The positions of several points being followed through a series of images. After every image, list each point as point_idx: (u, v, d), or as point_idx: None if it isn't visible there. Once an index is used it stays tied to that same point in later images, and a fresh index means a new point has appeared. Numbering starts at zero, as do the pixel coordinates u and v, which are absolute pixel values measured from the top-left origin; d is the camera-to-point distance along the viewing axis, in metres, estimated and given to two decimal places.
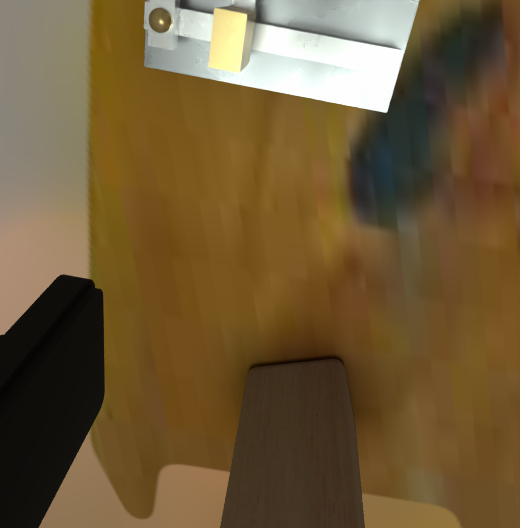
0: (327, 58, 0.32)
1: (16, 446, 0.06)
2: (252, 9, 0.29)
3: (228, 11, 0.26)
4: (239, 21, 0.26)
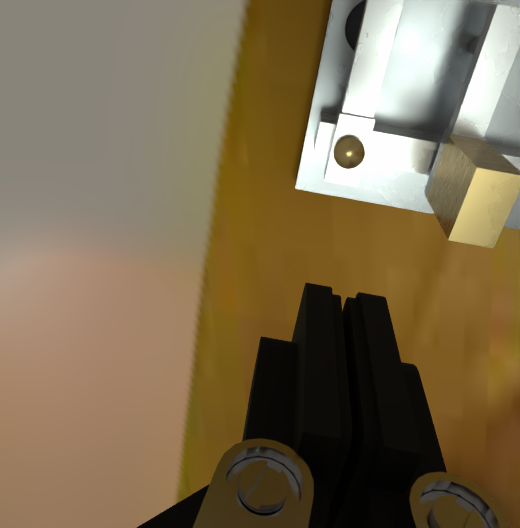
0: None
1: None
2: (482, 139, 0.21)
3: (497, 172, 0.17)
4: (511, 185, 0.18)
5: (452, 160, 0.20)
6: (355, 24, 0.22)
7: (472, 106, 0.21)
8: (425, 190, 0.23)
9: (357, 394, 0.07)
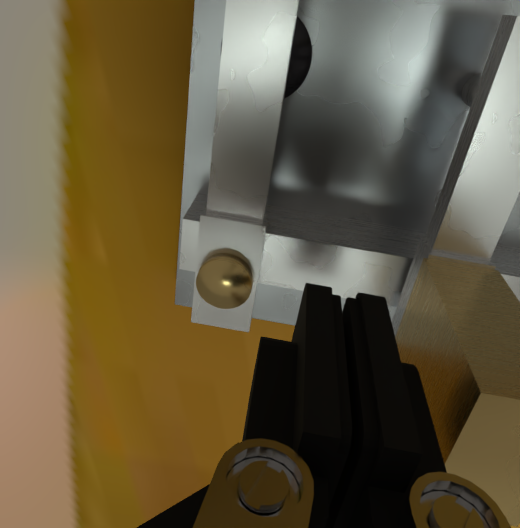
0: None
1: None
2: (487, 265, 0.11)
3: None
4: None
5: (430, 320, 0.10)
6: None
7: (468, 208, 0.11)
8: None
9: (357, 394, 0.07)
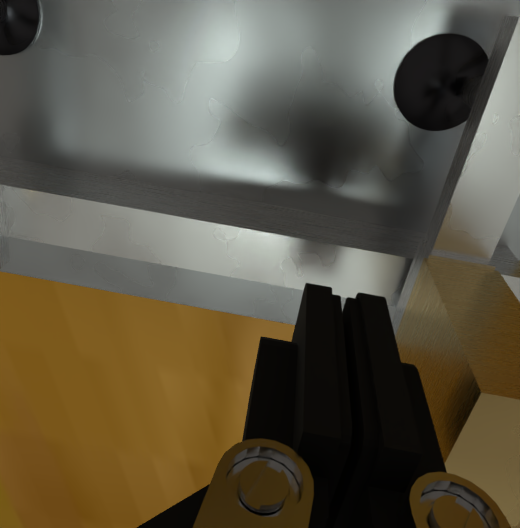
0: (352, 289, 0.14)
1: None
2: (487, 265, 0.11)
3: None
4: None
5: (430, 320, 0.10)
6: None
7: (468, 208, 0.11)
8: None
9: (357, 394, 0.07)
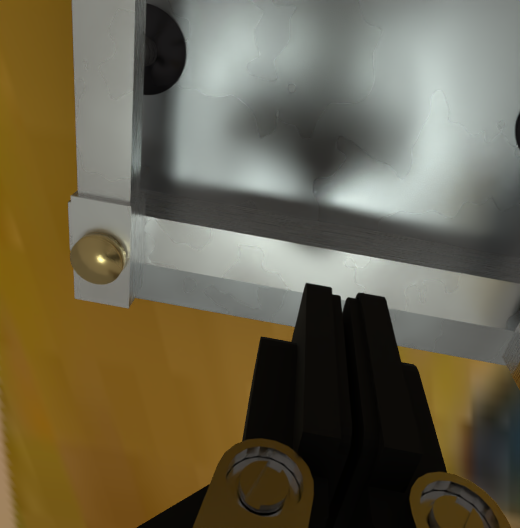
0: (470, 314, 0.14)
1: None
2: None
3: None
4: None
5: None
6: None
7: None
8: (506, 356, 0.14)
9: (357, 394, 0.07)
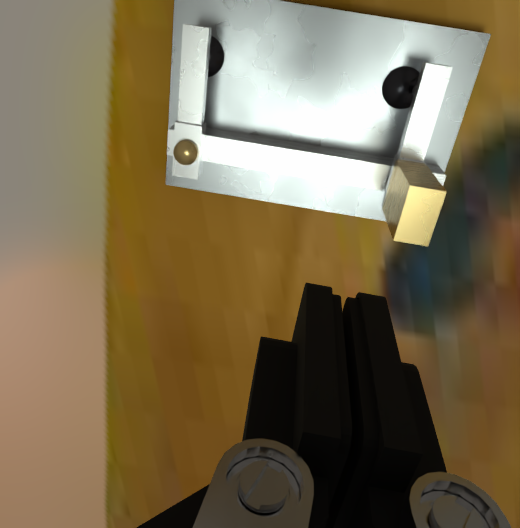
0: (364, 182, 0.29)
1: None
2: (422, 163, 0.27)
3: (425, 188, 0.23)
4: (436, 198, 0.23)
5: (397, 179, 0.26)
6: None
7: (413, 138, 0.27)
8: (382, 203, 0.29)
9: (357, 394, 0.07)
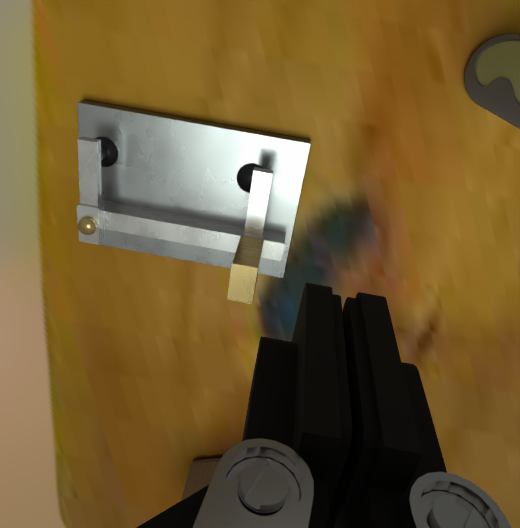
0: (225, 247, 0.39)
1: None
2: (260, 237, 0.37)
3: (243, 265, 0.33)
4: (251, 272, 0.33)
5: None
6: None
7: (252, 220, 0.36)
8: None
9: (357, 394, 0.07)
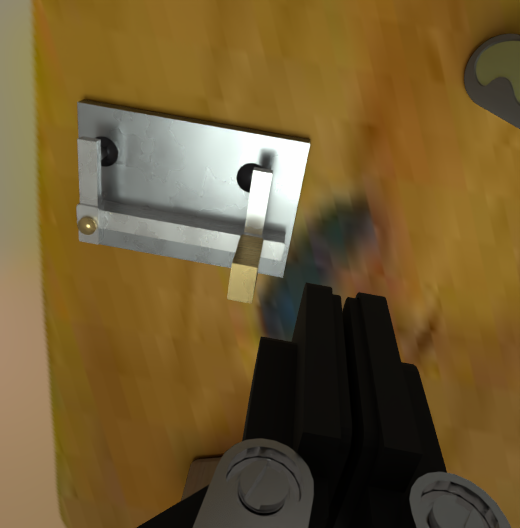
0: (225, 247, 0.39)
1: None
2: (260, 237, 0.37)
3: (242, 265, 0.33)
4: (251, 272, 0.33)
5: None
6: None
7: (251, 219, 0.36)
8: None
9: (357, 394, 0.07)
